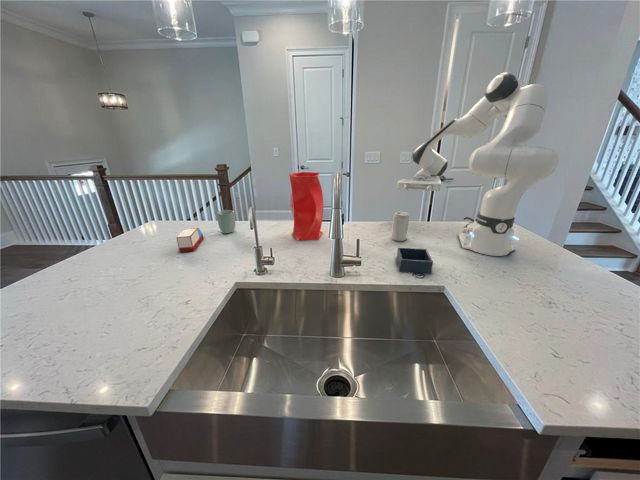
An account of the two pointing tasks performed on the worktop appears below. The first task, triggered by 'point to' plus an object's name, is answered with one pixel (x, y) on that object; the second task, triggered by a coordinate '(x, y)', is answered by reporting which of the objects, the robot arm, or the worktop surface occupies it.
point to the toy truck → (189, 239)
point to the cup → (226, 221)
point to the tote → (414, 260)
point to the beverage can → (400, 226)
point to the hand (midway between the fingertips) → (415, 189)
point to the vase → (306, 205)
